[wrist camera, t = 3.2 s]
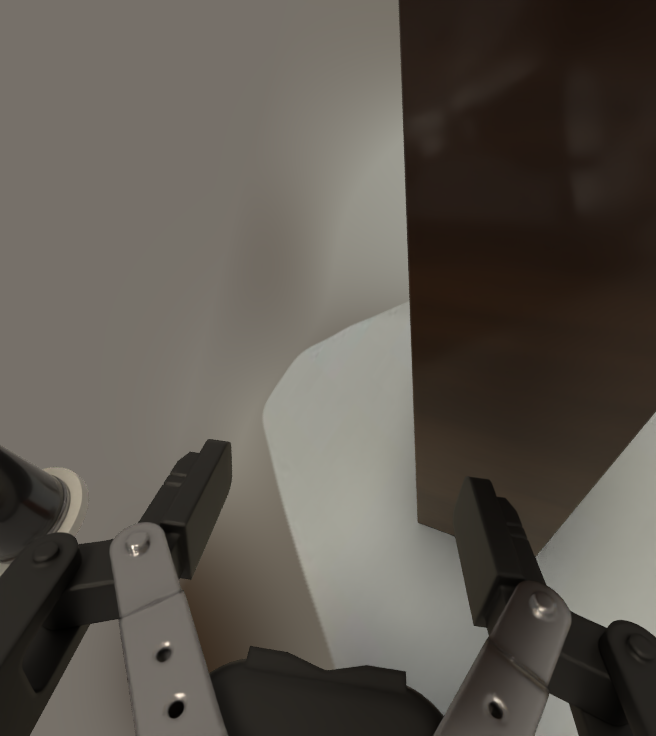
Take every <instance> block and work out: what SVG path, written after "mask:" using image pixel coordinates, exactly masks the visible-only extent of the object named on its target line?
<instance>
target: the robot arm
mask: <svg viewBox="0 0 656 736" xmlns="http://www.w3.org/2000/svg"><path fill="white" fill-rule="evenodd" d="M231 481H232V456H231V443H230V442H226V441H219V440H212V439H208V440H207V441H206V443H205V444H204V446H203V448H202V450H201V451H200V453H195V452H189V453H188V454H187V455H185V456H184V457H183V458H181V459H180V460H179V461H178V462H177V463H176V465H175V466H174V468H173V469H172V471H171V473H170V475H169V476H168V477H167V479H166V480H165V482H164V485H162V487H161V488H160V490H159V491H158V493H157V495H156V496H155V498H154V499H153V501H152V502H151V504H150V505H149V507H148V508H147V510H146V512H145V513H144V515H143V516H142V518H141V520H140V521H139V522H138V523H137V524H134V525H131V526H129V527H127V528H125V529H124V530H123V531H121V532H120V533H119V534H118V535H117V536H116V537H115V538H114V539H111V540H106V541H100V542H92V543H85V544H78V543H77V540H76V538H75V537H74V536H73V535H71V534H69V533H65V532H57V531H58V530H59V529H60V527H61V525H62V524H63V522H64V520H65V518H66V516H67V513H68V510H69V507H70V500H71V496H70V490H69V487H68V486H67V484H66V483H65V482H64V481H63V480H61V479H59V478H58V477H56V476H54V475H50V474H49V473H47V472H45V471H44V470H42V469H40V468H39V467H37V466H35V465H33V464H32V463H30V462H28V461H27V460H25V459H23V458H21V457H20V456H18V455H16V454H15V453H13V452H11V451H10V450H8V449H6V448H4V447H3V446H1V445H0V563H2V564H10V565H9V566H8V568H7V569H6V570H5V571H4V573H3V574H2V575H1V576H0V736H30V734H31V732H32V730H33V729H34V727H35V725H36V723H37V721H38V719H39V717H40V716H41V714H42V712H43V710H44V708H45V706H46V705H47V703H48V701H49V699H50V697H51V695H52V693H53V692H54V690H55V688H56V686H57V684H58V682H59V680H60V679H61V677H62V675H63V673H64V671H65V670H66V668H67V666H68V664H69V662H70V660H71V658H72V657H73V655H74V653H75V651H76V649H77V647H78V646H79V644H80V642H81V640H82V638H83V636H84V634H85V633H86V631H87V629H88V627H89V625H90V624H92V623H98V622H103V621H109V620H115V619H119V627H120V634H121V640H122V647H123V654H124V660H125V667H126V673H127V680H128V686H129V693H130V700H131V706H132V712H133V719H134V726H135V732H136V736H534V735H535V732H536V729H537V727H538V724H539V721H540V718H541V716H542V713H543V710H544V708H545V705H546V702H547V699H548V696H549V693H550V694H552V695H554V696H556V697H558V698H560V699H562V700H564V701H566V702H568V703H569V705H570V708H571V711H572V715H573V718H574V721H575V725H576V728H577V731H578V734H579V736H656V637H655V636H653V635H652V634H651V633H650V632H648V631H647V630H646V629H644V628H642V627H641V626H639V625H637V624H635V623H632V622H629V621H625V620H617V621H613V622H612V623H611V624H610V625H609V626H608V628H606V627H603V626H601V625H599V624H597V623H595V622H592V621H590V620H588V619H586V618H583V617H581V616H579V615H577V614H575V613H573V612H572V611H570V610H569V608H568V606H567V604H566V603H565V602H564V600H563V599H562V598H561V597H560V596H559V595H558V594H557V593H556V592H555V591H554V590H553V589H551V588H550V587H548V586H547V585H546V583H545V581H544V578H543V576H542V573H541V571H540V568H539V566H538V563H537V561H536V558H535V556H534V553H533V551H532V548H531V546H530V543H529V541H528V540H527V536H526V533H525V531H524V528H522V523H521V520H520V518H519V515H518V513H517V511H516V510H515V508H514V507H513V506H512V505H511V504H510V503H509V501H508V500H507V499H506V498H504V497H497V496H496V493H495V490H494V487H493V485H492V482H491V481H490V480H489V479H483V478H476V477H469V476H466V477H465V478H464V480H463V483H462V486H461V489H460V492H459V495H458V498H457V501H456V504H455V507H454V510H453V529H454V534H455V538H456V543H457V548H458V553H459V557H460V562H461V567H462V572H463V576H464V581H465V586H466V591H467V595H468V600H469V605H470V610H471V614H472V619H473V624H474V626H479V627H485V628H487V630H488V634H489V637H488V639H487V640H486V641H485V643H484V645H483V647H482V649H481V650H480V652H479V654H478V656H477V658H476V659H475V661H474V663H473V665H472V667H471V668H470V670H469V672H468V674H467V676H466V677H465V679H464V681H463V683H462V685H461V686H460V688H459V690H458V692H457V694H456V695H455V697H454V699H453V701H452V703H451V705H450V706H449V708H448V710H447V712H446V714H445V715H444V716H443V715H442V714H441V712H440V711H439V710H438V709H437V708H436V707H435V706H434V705H433V704H432V703H431V702H430V701H429V700H428V699H427V698H425V697H424V696H423V695H422V694H420V693H419V692H417V691H416V690H414V689H412V688H411V687H409V686H406V672H405V671H399V670H393V669H387V668H381V667H374V666H368V665H365V666H358V667H351V668H343V669H336V670H324V669H321V668H319V667H317V666H315V665H313V664H311V663H309V662H307V661H305V660H303V659H301V658H298V657H296V656H294V655H292V654H290V653H288V652H283V651H277V650H271V649H264V648H259V647H253V646H250V648H249V652H248V656H247V659H242V660H237V661H233V662H230V663H228V664H225V665H223V666H221V667H219V668H217V669H215V670H214V671H212V672H210V673H209V672H208V669H207V666H206V662H205V659H204V656H203V652H202V649H201V646H200V642H199V639H198V636H197V632H196V629H195V626H194V622H193V619H192V616H191V612H190V609H189V606H188V602H187V599H186V596H185V593H184V591H183V590H181V587H180V584H179V579H180V578H184V579H190V580H191V579H192V577H193V574H194V572H195V570H196V567H197V565H198V563H199V561H200V558H201V556H202V554H203V551H204V549H205V547H206V544H207V542H208V539H209V537H210V535H211V532H212V530H213V528H214V526H215V523H216V521H217V519H218V516H219V514H220V511H221V509H222V507H223V505H224V502H225V500H226V498H227V495H228V493H229V490H230V486H231Z"/></svg>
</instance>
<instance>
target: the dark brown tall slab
mask: <svg viewBox="0 0 656 736" xmlns="http://www.w3.org/2000/svg"><path fill="white" fill-rule="evenodd" d="M399 26H400V52H401V81H402V106H403V107H402V108H403V133H404V161H405V189H406V215H407V244H408V271H409V294H410V295H409V298H410V325H411V352H412V379H413V406H414V434H415V461H416V488H417V515H418V523H421V524H424V525H426V526H429V527H432V528H434V529H437V530H440V531H443V532H445V533H448V534H451V535H453V536H455V534H454V529H453V510H454V507H455V504H456V501H457V498H458V495H459V492H460V489H461V486H462V483H463V480H464V478H465V477H466V476H469V477H476V478H483V479H489V480H490V481H491V482H492V485H493V487H494V490H495V493H496V496H497V497H504V498H506V499H507V500H508V501H509V503H510V504H511V505H512V506H513V507H514V508H515V510H516V511H517V513H518V515H519V518H520V520H521V523H522V528H524V531H525V533H526V536H527V540H528V541H529V543H530V546H531V548H532V551H533V553H534V556H535V557H536V556H537V554H538V553H539V552H540V551H541V549H542V548H543V547H544V546H545V545H546V543H547V542H548V541H549V540H550V539H551V537H552V536H553V535H554V534H555V533H556V531H557V530H558V529H559V528H560V527H561V525H562V524H563V523H564V522H565V521H566V519H567V518H568V517H569V516H570V515H571V513H572V512H573V511H574V510H575V508H576V507H577V506H578V505H579V504H580V502H581V501H582V500H583V499H584V498H585V496H586V495H587V494H588V493H589V492H590V490H591V489H592V488H593V487H594V486H595V484H596V483H597V482H598V481H599V480H600V478H601V477H602V476H603V475H604V473H605V472H606V471H607V470H608V469H609V467H610V466H611V465H612V464H613V463H614V461H615V460H616V459H617V458H618V457H619V455H620V454H621V453H622V452H623V451H624V449H625V448H626V447H627V446H628V445H629V443H630V442H631V441H632V440H633V439H634V437H635V436H636V435H637V434H638V432H639V431H640V430H641V429H642V428H643V426H644V425H645V424H646V423H647V422H648V420H649V419H650V418H651V417H652V416H653V414H654V413H655V412H656V0H399Z"/></svg>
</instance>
